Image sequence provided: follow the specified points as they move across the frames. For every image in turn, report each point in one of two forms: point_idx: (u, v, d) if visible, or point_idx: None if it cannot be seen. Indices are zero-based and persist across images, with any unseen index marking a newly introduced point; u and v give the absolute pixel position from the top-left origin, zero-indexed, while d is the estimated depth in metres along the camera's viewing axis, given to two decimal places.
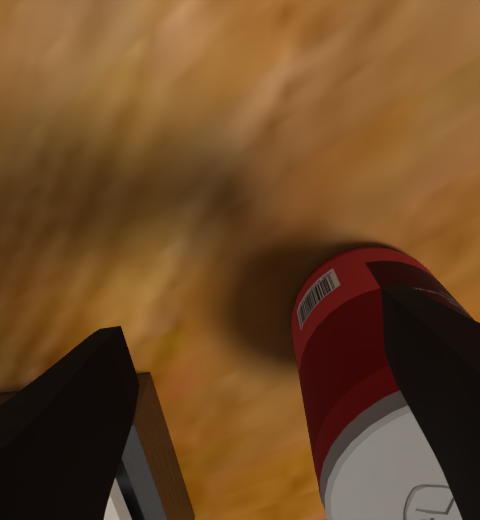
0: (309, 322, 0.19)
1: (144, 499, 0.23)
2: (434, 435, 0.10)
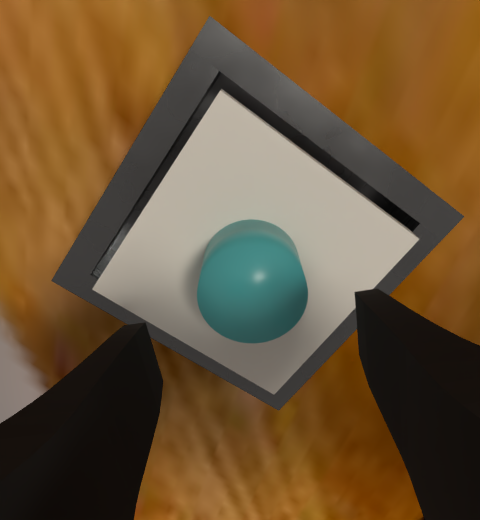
0: None
1: (312, 128, 0.16)
2: (401, 439, 0.10)
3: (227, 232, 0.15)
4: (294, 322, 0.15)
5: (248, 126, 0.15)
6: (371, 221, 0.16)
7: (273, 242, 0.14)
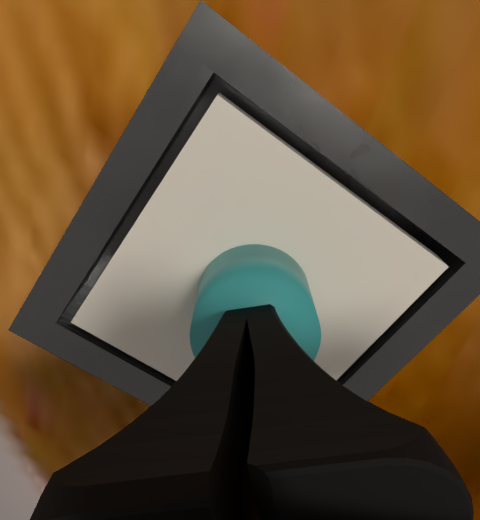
0: None
1: (333, 145, 0.13)
2: None
3: (226, 260, 0.13)
4: None
5: (251, 137, 0.12)
6: (393, 246, 0.14)
7: (280, 274, 0.12)
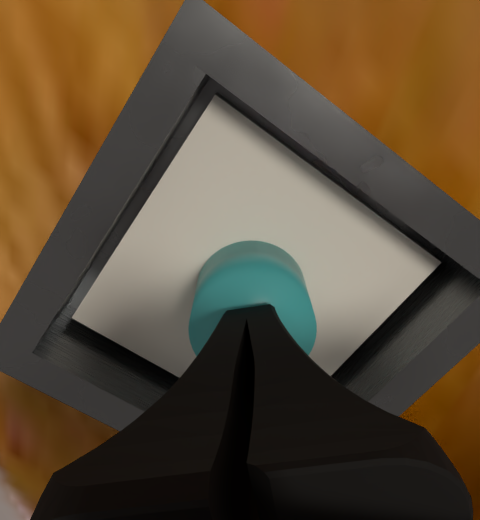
0: None
1: (342, 156, 0.11)
2: None
3: (223, 256, 0.13)
4: None
5: (248, 135, 0.13)
6: (386, 242, 0.14)
7: (277, 269, 0.12)
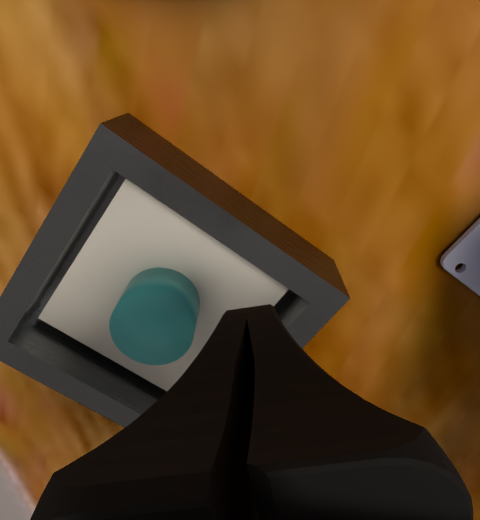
0: None
1: (203, 219, 0.17)
2: None
3: (138, 278, 0.20)
4: (185, 350, 0.19)
5: (152, 199, 0.19)
6: (253, 270, 0.20)
7: (168, 289, 0.19)
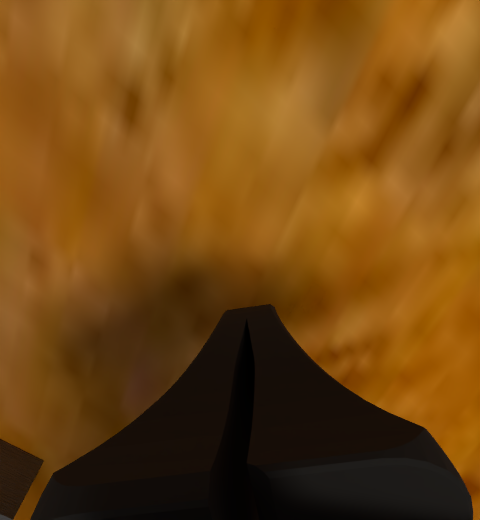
0: None
1: None
2: None
3: None
4: None
5: None
6: None
7: None
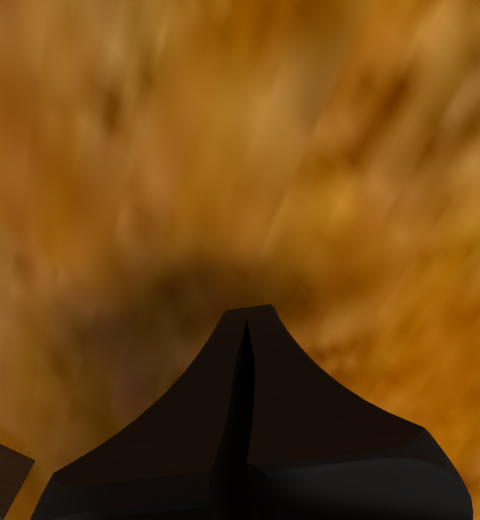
0: None
1: None
2: None
3: None
4: None
5: None
6: None
7: None
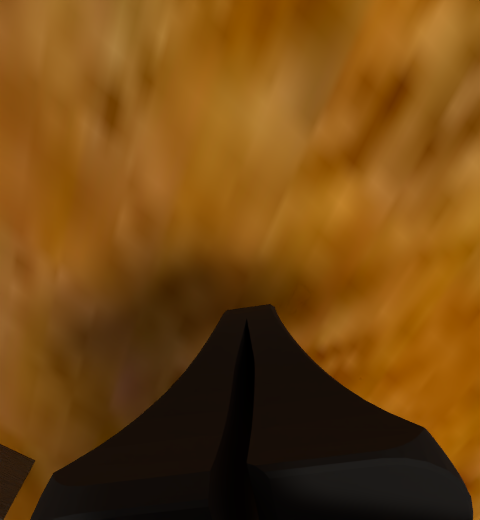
0: None
1: None
2: None
3: None
4: None
5: None
6: None
7: None
